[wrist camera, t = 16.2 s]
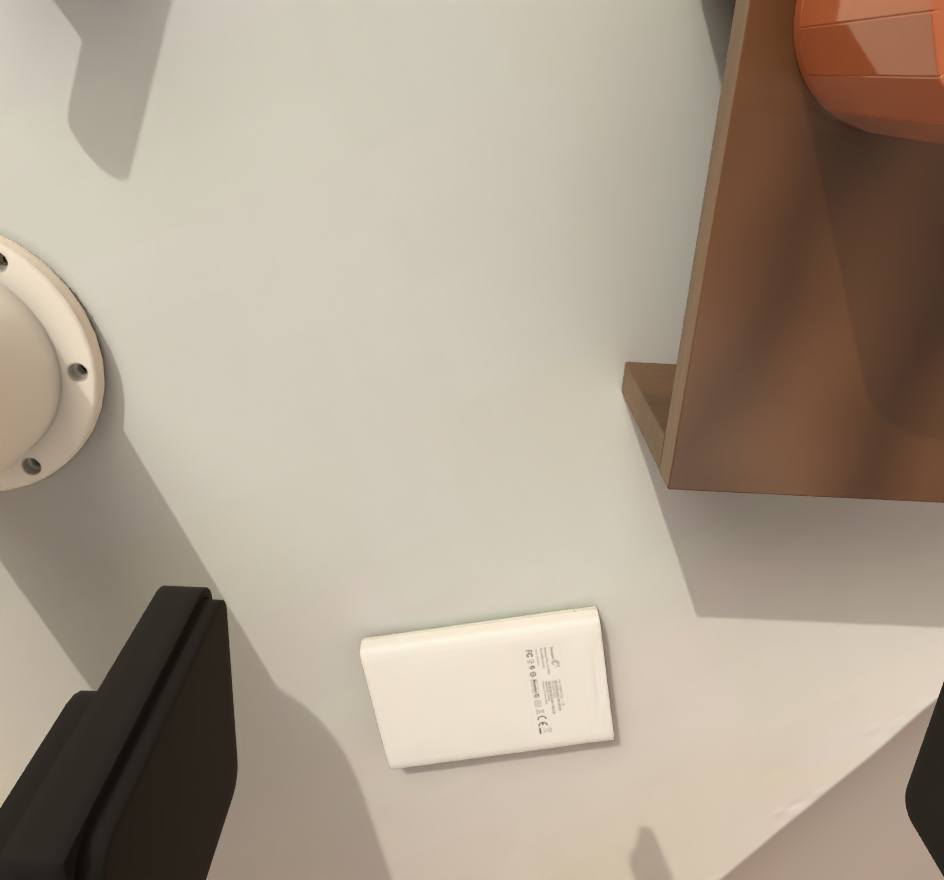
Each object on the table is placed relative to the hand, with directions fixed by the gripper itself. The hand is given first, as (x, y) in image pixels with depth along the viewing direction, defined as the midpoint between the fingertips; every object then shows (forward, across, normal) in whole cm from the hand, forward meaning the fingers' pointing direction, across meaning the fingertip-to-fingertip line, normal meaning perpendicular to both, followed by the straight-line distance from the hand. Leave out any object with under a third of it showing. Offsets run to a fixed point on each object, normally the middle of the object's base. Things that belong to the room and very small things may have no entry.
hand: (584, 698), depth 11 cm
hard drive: (+28, -1, +23) cm, 37 cm away
